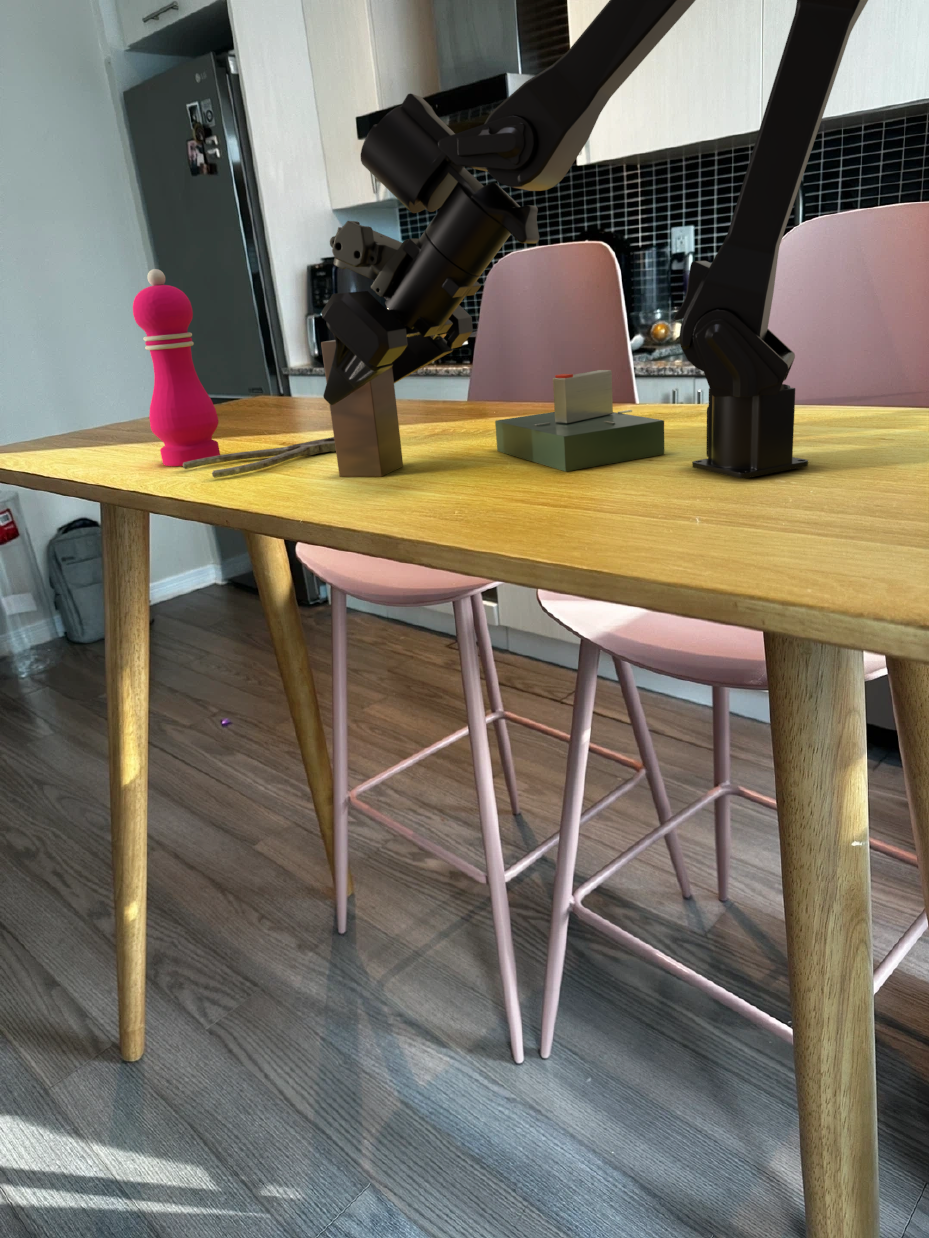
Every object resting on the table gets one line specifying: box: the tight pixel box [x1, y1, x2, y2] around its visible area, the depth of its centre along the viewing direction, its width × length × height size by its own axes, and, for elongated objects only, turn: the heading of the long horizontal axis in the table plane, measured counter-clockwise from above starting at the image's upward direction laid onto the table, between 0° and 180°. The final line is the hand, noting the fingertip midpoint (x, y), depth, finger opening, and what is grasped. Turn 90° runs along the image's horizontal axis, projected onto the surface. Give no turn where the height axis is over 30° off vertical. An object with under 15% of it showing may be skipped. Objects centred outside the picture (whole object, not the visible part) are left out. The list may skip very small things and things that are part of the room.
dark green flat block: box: [494, 409, 665, 472], centre depth 83 cm, size 14×11×3 cm
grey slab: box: [552, 369, 614, 424], centre depth 81 cm, size 6×2×4 cm, turn 127°
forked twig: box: [182, 436, 336, 479], centre depth 95 cm, size 10×1×20 cm
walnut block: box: [320, 339, 404, 478], centre depth 81 cm, size 4×4×12 cm
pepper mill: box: [132, 268, 221, 467], centre depth 95 cm, size 7×7×20 cm
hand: (353, 394), depth 81 cm, fingers open, 9 cm apart
